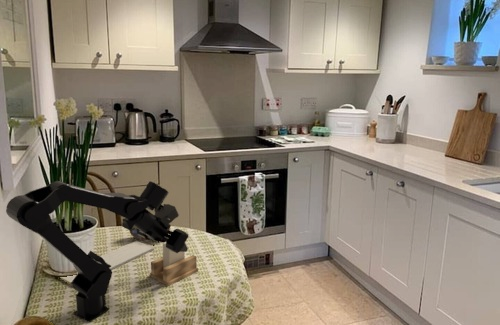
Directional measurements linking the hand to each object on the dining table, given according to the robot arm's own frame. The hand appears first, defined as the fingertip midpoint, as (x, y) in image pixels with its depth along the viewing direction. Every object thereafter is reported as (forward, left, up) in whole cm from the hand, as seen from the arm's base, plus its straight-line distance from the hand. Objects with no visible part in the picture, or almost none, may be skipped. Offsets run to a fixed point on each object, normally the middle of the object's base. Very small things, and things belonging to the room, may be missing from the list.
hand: (177, 245), depth 126 cm
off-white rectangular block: (-1, 0, -8) cm, 8 cm away
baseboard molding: (-7, +24, -10) cm, 27 cm away
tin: (+15, +25, -9) cm, 31 cm away
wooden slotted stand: (-1, 0, -9) cm, 9 cm away
